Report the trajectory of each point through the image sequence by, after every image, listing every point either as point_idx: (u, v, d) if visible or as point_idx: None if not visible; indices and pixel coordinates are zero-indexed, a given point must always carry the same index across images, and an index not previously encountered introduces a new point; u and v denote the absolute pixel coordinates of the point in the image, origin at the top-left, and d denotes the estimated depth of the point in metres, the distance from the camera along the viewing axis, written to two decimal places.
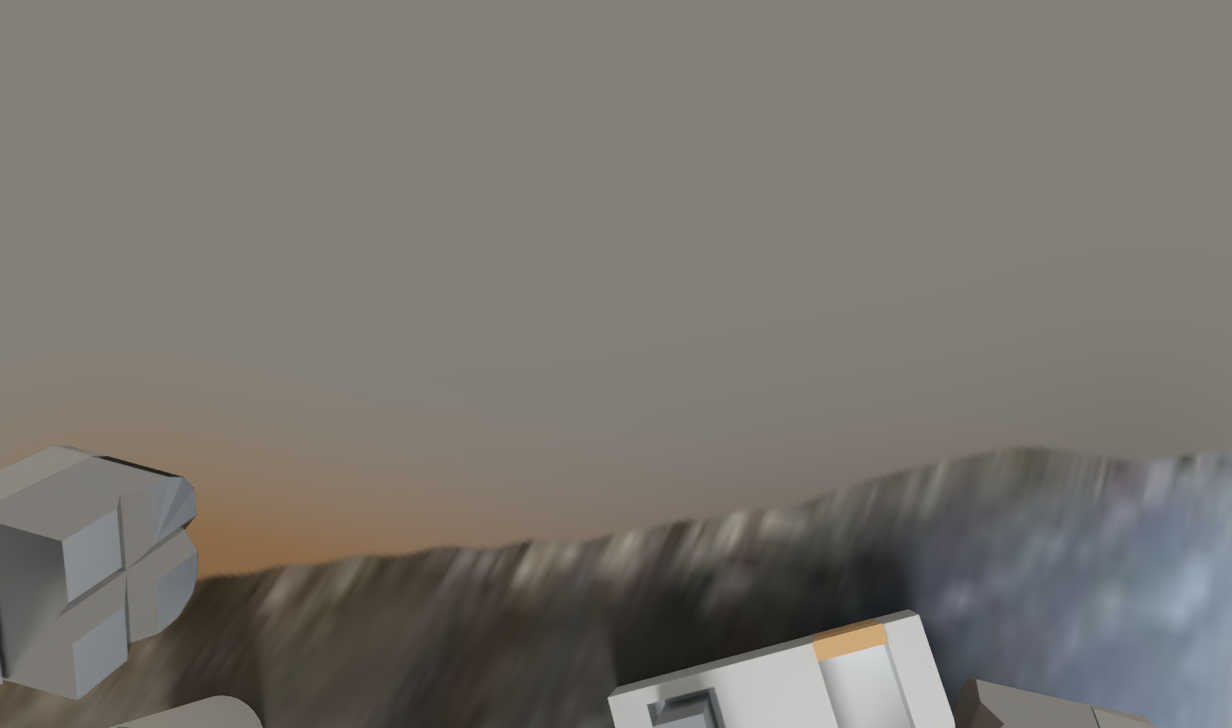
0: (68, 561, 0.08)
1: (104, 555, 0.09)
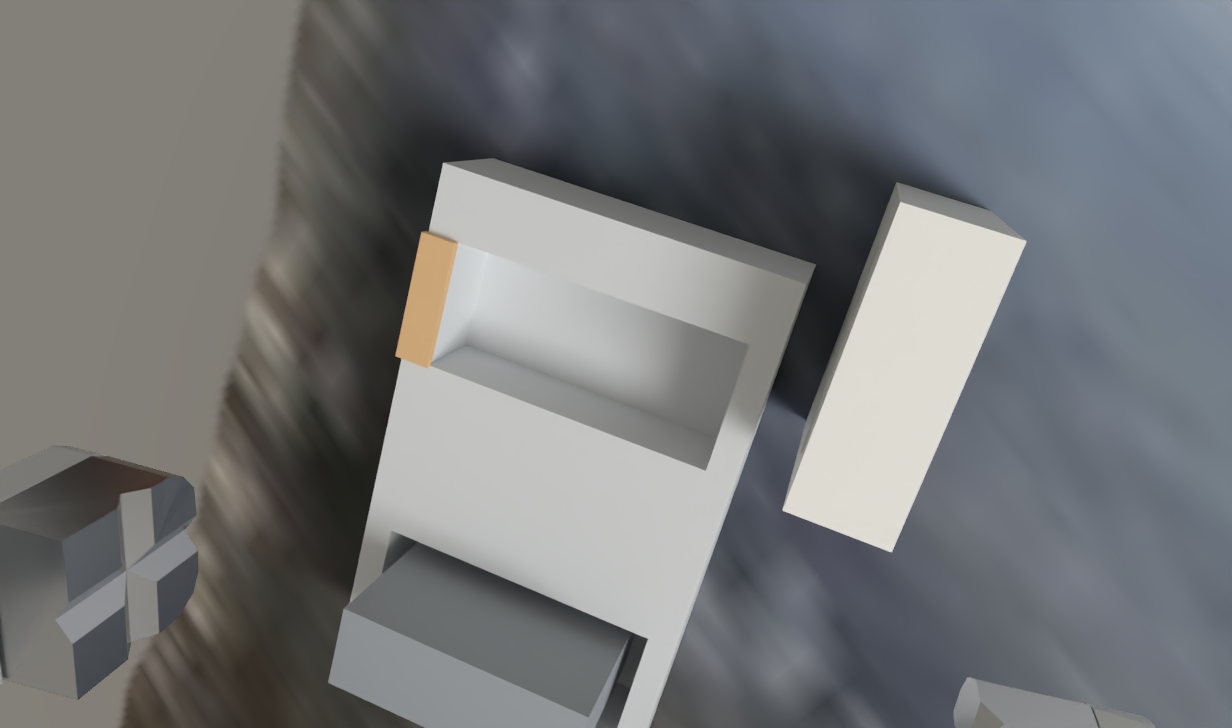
0: (68, 561, 0.08)
1: (104, 555, 0.09)
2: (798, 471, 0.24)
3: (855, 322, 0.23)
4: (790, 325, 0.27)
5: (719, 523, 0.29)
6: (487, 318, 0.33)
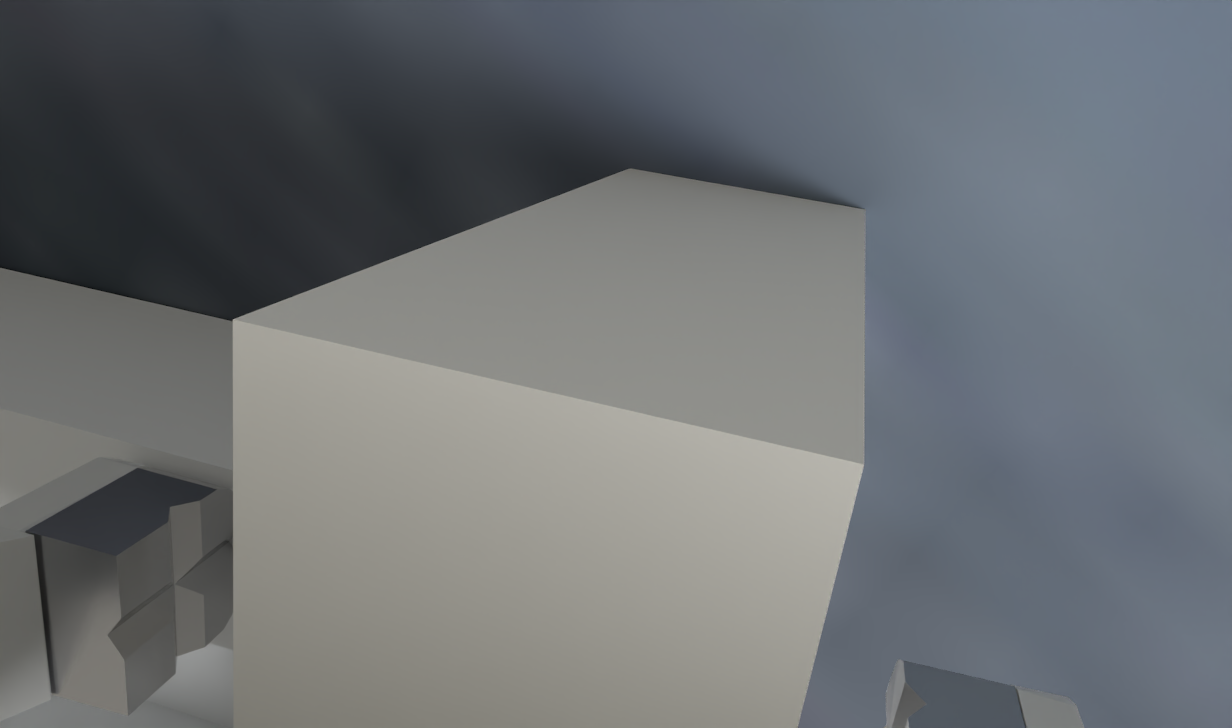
0: (121, 576, 0.08)
1: (155, 569, 0.09)
2: None
3: None
4: None
5: None
6: None
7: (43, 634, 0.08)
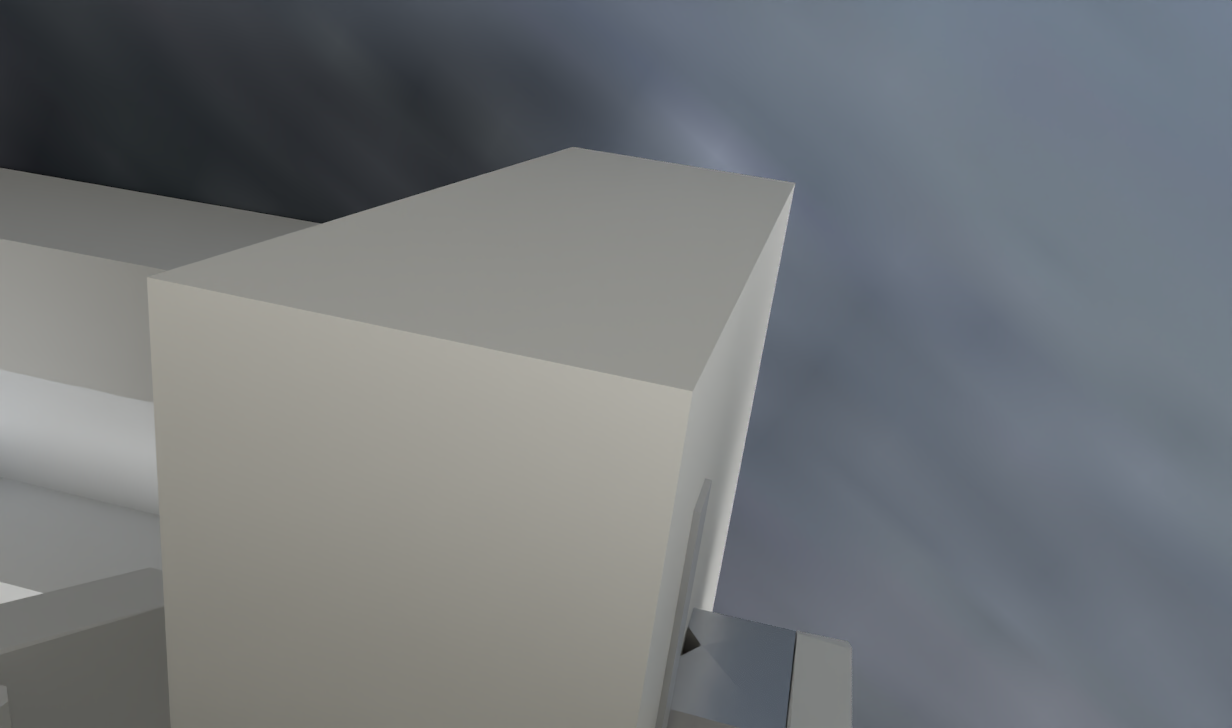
0: None
1: None
2: None
3: None
4: None
5: None
6: (4, 428, 0.20)
7: None
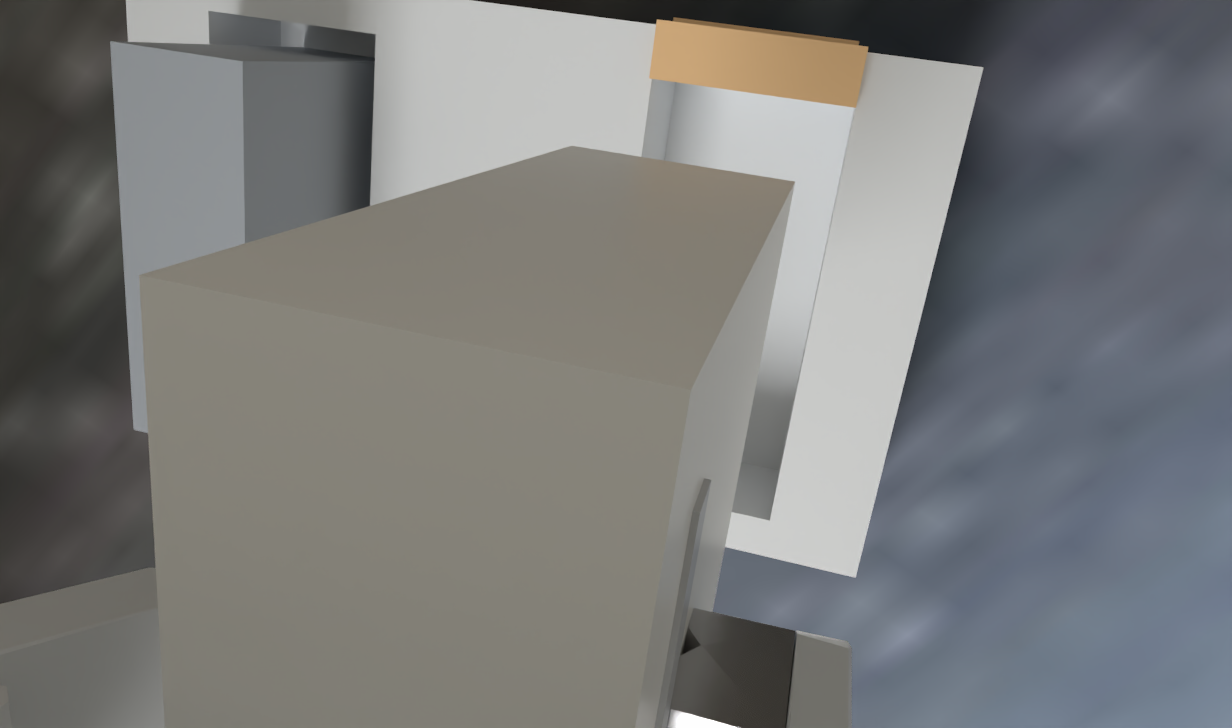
0: None
1: None
2: None
3: None
4: (801, 563, 0.23)
5: None
6: (723, 103, 0.23)
7: None
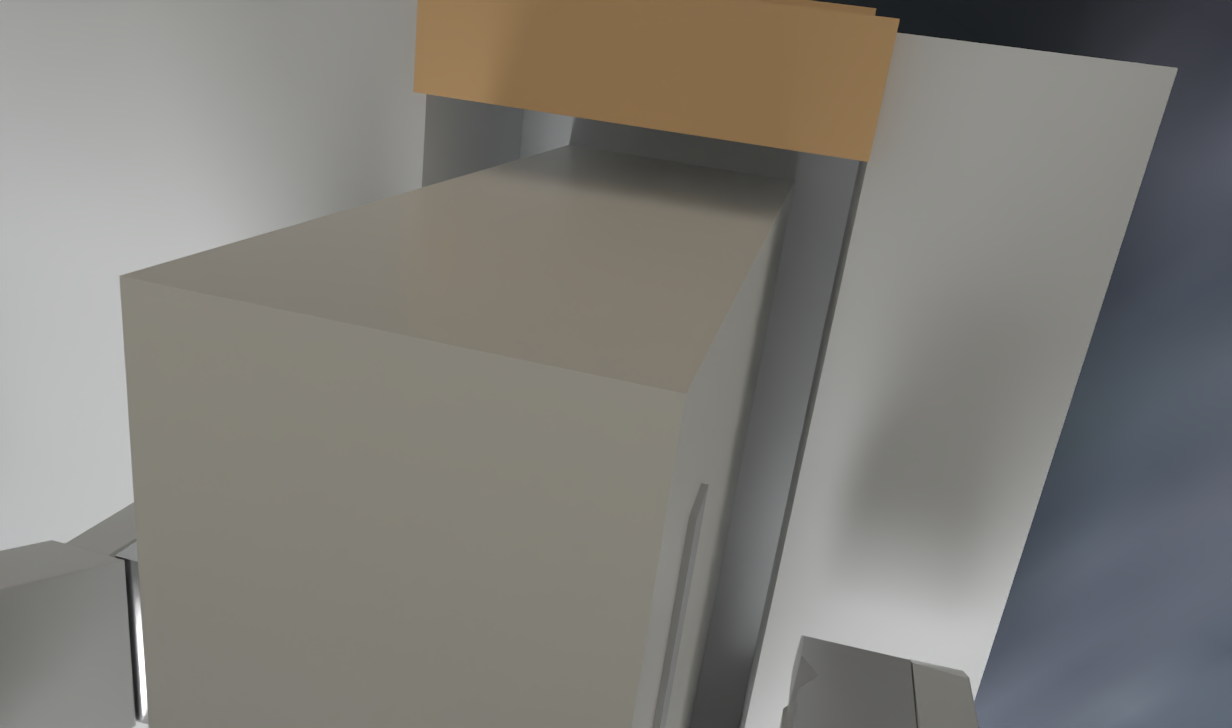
0: None
1: None
2: None
3: None
4: None
5: None
6: (613, 134, 0.12)
7: (131, 659, 0.08)
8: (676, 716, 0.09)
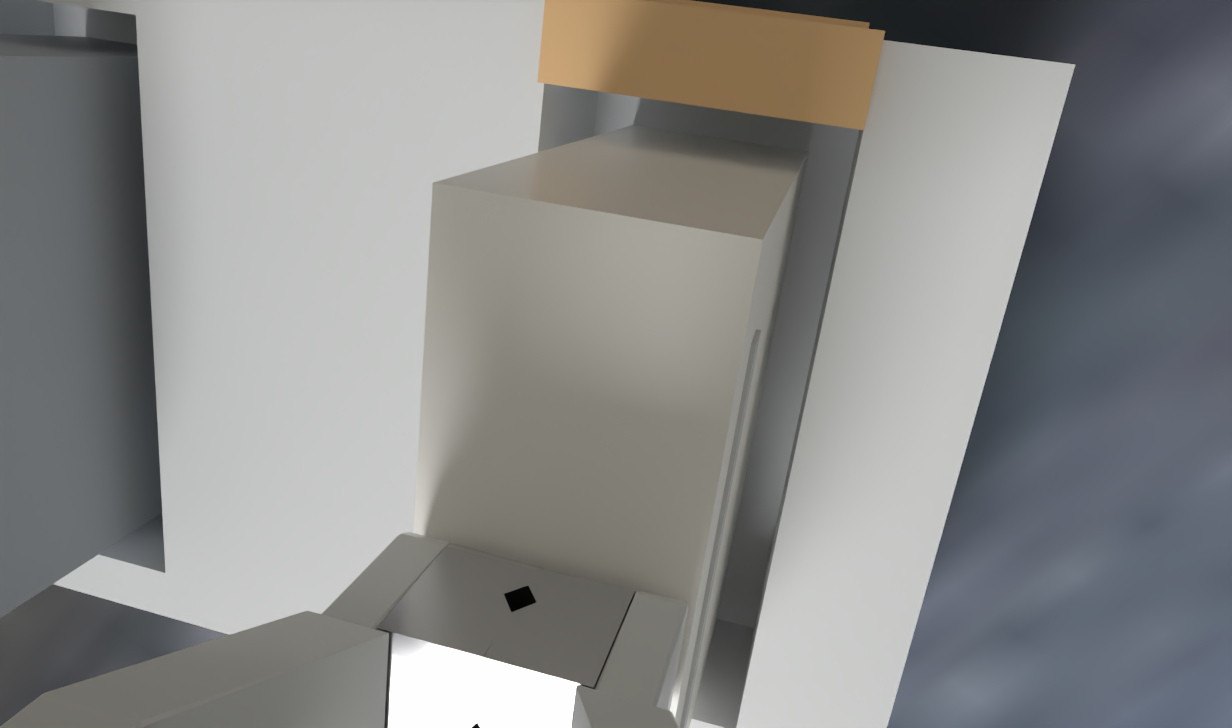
0: (482, 677, 0.07)
1: None
2: None
3: (417, 488, 0.09)
4: None
5: None
6: (668, 117, 0.15)
7: None
8: (724, 537, 0.13)
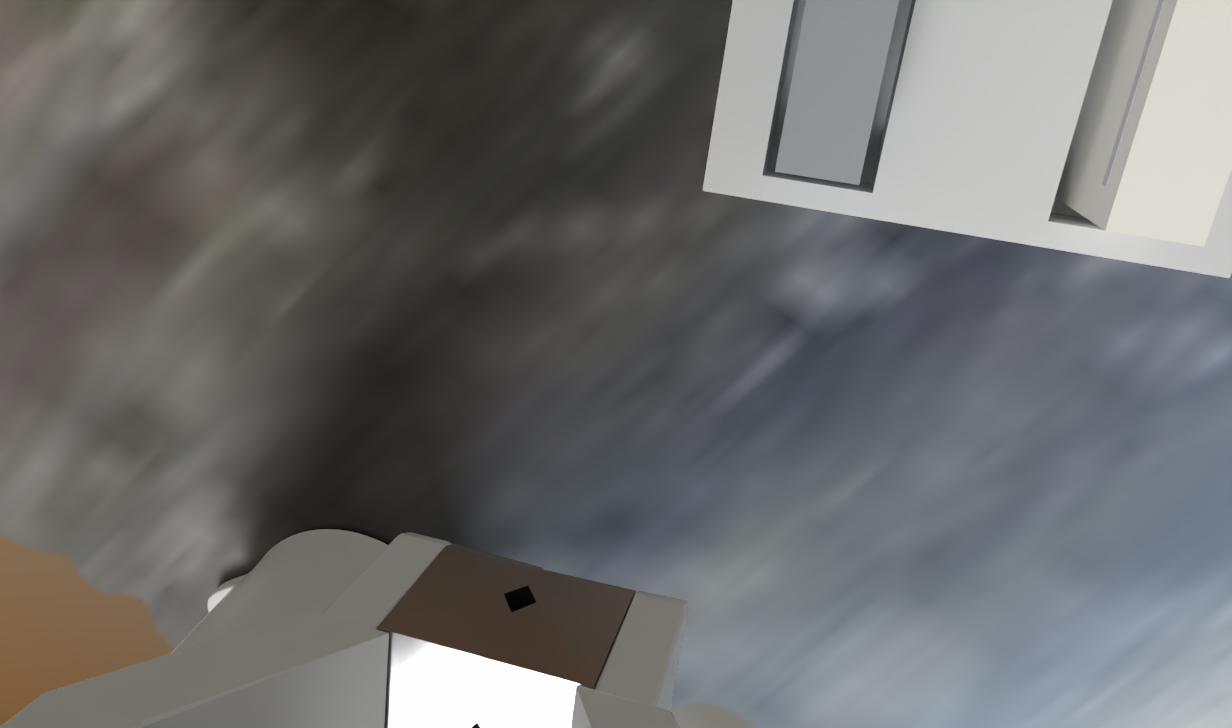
0: (482, 677, 0.07)
1: None
2: (1117, 194, 0.29)
3: (1161, 55, 0.28)
4: (1191, 270, 0.34)
5: (998, 238, 0.35)
6: None
7: None
8: None
